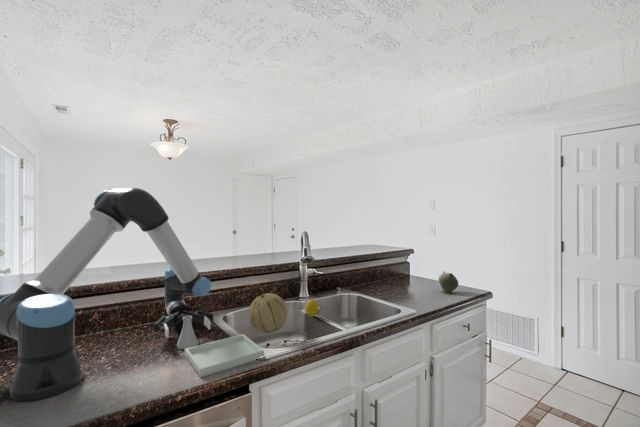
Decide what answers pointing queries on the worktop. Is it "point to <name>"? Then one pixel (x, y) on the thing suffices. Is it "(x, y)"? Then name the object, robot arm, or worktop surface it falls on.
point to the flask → (187, 335)
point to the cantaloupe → (268, 313)
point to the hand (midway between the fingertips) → (189, 329)
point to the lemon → (311, 307)
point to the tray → (222, 354)
